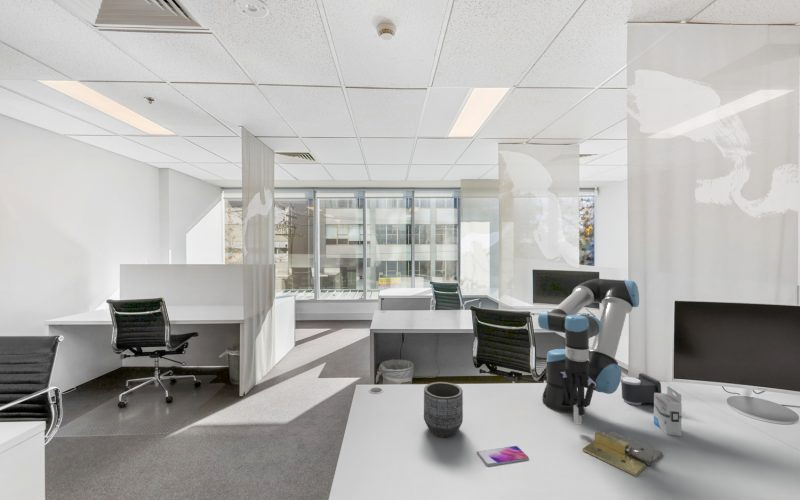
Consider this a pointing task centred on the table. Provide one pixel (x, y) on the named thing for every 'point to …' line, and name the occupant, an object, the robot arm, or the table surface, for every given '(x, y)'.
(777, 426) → the table surface
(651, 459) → the gunmetal leaf
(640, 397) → the light fixture
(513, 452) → the smartphone
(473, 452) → the table surface
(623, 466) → the brass leaf
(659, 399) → the ink box
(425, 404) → the planter
